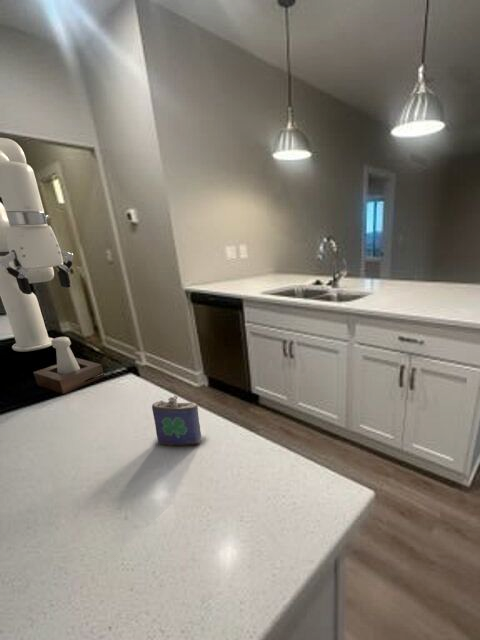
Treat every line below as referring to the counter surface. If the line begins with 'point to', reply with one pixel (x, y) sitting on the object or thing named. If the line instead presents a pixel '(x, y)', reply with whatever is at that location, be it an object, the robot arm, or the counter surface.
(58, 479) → the counter surface
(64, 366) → the salt shaker
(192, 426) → the flask
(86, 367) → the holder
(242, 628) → the counter surface
